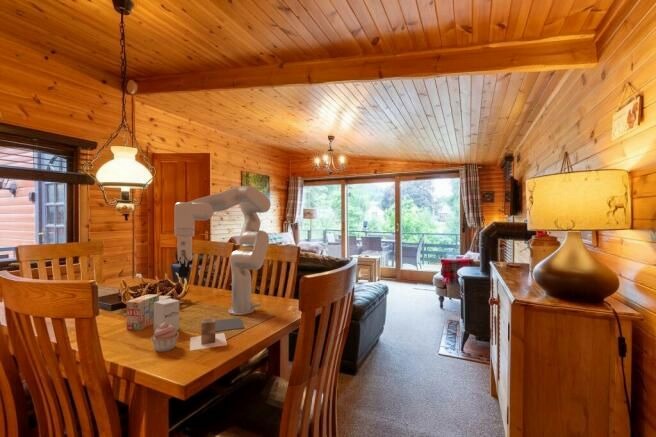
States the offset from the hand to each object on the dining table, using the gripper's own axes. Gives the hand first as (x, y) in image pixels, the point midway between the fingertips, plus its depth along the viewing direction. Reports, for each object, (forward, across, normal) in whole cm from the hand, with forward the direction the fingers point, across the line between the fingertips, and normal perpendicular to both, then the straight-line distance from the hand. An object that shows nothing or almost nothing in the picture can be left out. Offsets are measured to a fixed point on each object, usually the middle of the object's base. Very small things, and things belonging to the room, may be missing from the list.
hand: (184, 274), depth 129 cm
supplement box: (+25, +8, +7) cm, 28 cm away
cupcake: (+25, -12, +5) cm, 28 cm away
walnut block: (+25, -10, -9) cm, 28 cm away
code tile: (+25, -10, -9) cm, 28 cm away
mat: (+25, +7, -17) cm, 31 cm away
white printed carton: (+25, +23, +16) cm, 38 cm away
